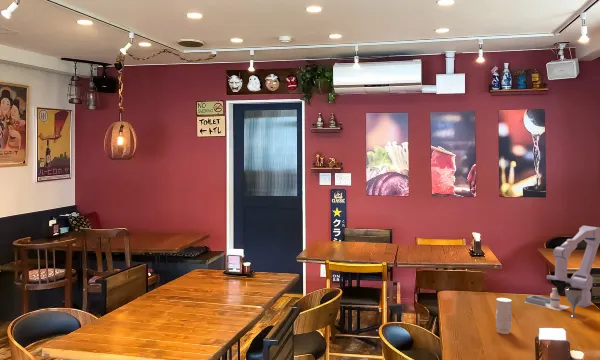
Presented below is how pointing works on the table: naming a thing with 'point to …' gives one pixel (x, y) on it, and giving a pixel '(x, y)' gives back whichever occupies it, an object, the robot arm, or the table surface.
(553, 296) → the bottle
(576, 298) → the wine glass
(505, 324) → the candle
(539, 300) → the cradle
